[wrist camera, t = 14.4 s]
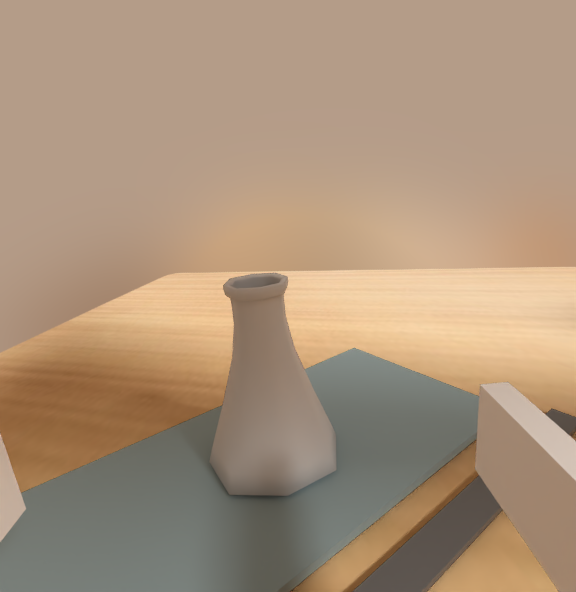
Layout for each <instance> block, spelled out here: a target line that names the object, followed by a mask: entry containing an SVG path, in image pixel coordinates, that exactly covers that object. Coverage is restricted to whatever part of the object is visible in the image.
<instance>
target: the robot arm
mask: <svg viewBox="0 0 576 592" xmlns="http://www.w3.org/2000/svg"><path fill="white" fill-rule="evenodd" d="M475 470H476V471H477V473H478V474H479V476H480V477H481V479H482V480H483V481H484V483H485V484H486V486H487V487H488V489H489V490H490V492H491V493H492V495H493V496H494V498H495V499H496V500H497V502H498V503H499V505H500V506H501V508H502V509H503V511H504V512H505V514H506V515H507V517H508V518H509V519H510V521H511V522H512V524H513V525H514V527H515V528H516V530H517V531H518V533H519V534H520V536H521V537H522V538H523V540H524V541H525V543H526V544H527V546H528V547H529V549H530V550H531V552H532V553H533V555H534V556H535V557H536V559H537V560H538V562H539V563H540V565H541V566H542V568H543V569H544V571H545V572H546V574H547V575H548V576H549V578H550V579H551V581H552V582H553V584H554V585H555V587H556V588H557V590H558V591H559V592H576V441H575V440H574V439H573V438H572V437H571V436H569V435H568V434H567V433H566V432H565V431H564V430H563V429H561V428H560V427H559V426H558V425H557V424H556V423H555V422H553V421H552V420H551V419H550V418H549V417H548V416H546V415H545V414H544V413H543V412H542V411H541V410H540V409H538V408H537V407H536V406H535V405H534V404H533V403H532V402H530V401H529V400H528V399H527V398H526V397H525V396H524V395H522V394H521V393H520V392H519V391H518V390H517V389H516V388H514V387H513V386H512V385H511V384H510V383H509V382H503V383H491V384H480V392H479V409H478V426H477V443H476V460H475ZM25 510H26V507H25V504H24V501H23V498H22V495H21V492H20V489H19V486H18V483H17V481H16V478H15V475H14V472H13V469H12V466H11V463H10V460H9V457H8V454H7V451H6V448H5V445H4V442H3V439H2V437H1V434H0V542H1V541H2V539H3V538H4V537H5V535H6V534H7V533H8V532H9V530H10V529H11V528H12V526H13V525H14V524H15V523H16V521H17V520H18V519H19V517H20V516H21V515H22V513H23V512H24V511H25Z"/></svg>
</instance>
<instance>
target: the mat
mask: <svg viewBox="0 0 576 592" xmlns="http://www.w3.org/2000/svg"><path fill="white" fill-rule="evenodd" d="M305 372H306V374H307V376H308V378H309V380H310V383H311V385H312V387H313V389H314V391H315V393H316V395H317V397H318V399H319V401H320V403H321V405H322V407H323V409H324V411H325V413H326V415H327V417H328V419H329V421H330V423H331V425H332V427H333V429H334V431H335V434H336V469H337V470H336V471H334V472H332V473H330V474H328V475H326V476H325V477H323V478H321V479H319V480H317V481H315V482H313V483H311V484H309V485H308V486H306V487H304V488H302V489H300V490H298V491H296V492H294V493H292V494H290V495H289V496H273V495H229V493H228V492H227V490H226V488H225V487H224V485H223V483H222V482H221V480H220V478H219V477H218V475H217V474H216V472H215V470H214V469H213V467H212V465H211V464H210V462H209V461H210V456H211V452H212V447H213V443H214V439H215V434H216V430H217V426H218V422H219V418H220V414H221V410H222V406H223V405H222V406H220V407H217V408H215V409H213V410H210V411H208V412H206V413H203V414H201V415H199V416H197V417H194V418H192V419H190V420H187V421H185V422H183V423H181V424H178V425H176V426H174V427H171V428H169V429H167V430H164V431H162V432H160V433H158V434H155V435H153V436H151V437H148V438H146V439H144V440H142V441H139V442H137V443H135V444H132V445H130V446H128V447H125V448H123V449H121V450H119V451H116V452H114V453H112V454H109V455H107V456H105V457H102V458H100V459H98V460H96V461H93V462H91V463H89V464H86V465H84V466H82V467H80V468H77V469H75V470H73V471H70V472H68V473H66V474H63V475H61V476H59V477H57V478H54V479H52V480H50V481H47V482H45V483H43V484H41V485H38V486H36V487H34V488H31V489H29V490H27V491H24V492H22V493H21V495H22V498H23V501H24V504H25V507H26V510H25V511H24V512H23V513H22V515H21V516H20V517H19V519H18V520H17V521H16V523H15V524H14V525H13V526H12V528H11V529H10V530H9V532H8V533H7V534H6V535H5V537H4V538H3V539H2V541H1V542H0V592H290V591H291V590H292V589H294V588H295V587H296V586H297V585H298V584H300V583H301V582H302V581H303V580H305V579H306V578H307V577H308V576H309V575H311V574H312V573H313V572H314V571H316V570H317V569H318V568H319V567H320V566H322V565H323V564H324V563H325V562H327V561H328V560H329V559H330V558H331V557H333V556H334V555H335V554H336V553H338V552H339V551H340V550H341V549H342V548H344V547H345V546H346V545H347V544H349V543H350V542H351V541H352V540H354V539H355V538H356V537H357V536H358V535H360V534H361V533H362V532H363V531H365V530H366V529H367V528H368V527H369V526H371V525H372V524H373V523H374V522H376V521H377V520H378V519H379V518H380V517H382V516H383V515H384V514H385V513H387V512H388V511H389V510H390V509H391V508H393V507H394V506H395V505H396V504H398V503H399V502H400V501H401V500H402V499H404V498H405V497H406V496H407V495H409V494H410V493H411V492H412V491H414V490H415V489H416V488H417V487H418V486H420V485H421V484H422V483H423V482H425V481H426V480H427V479H428V478H429V477H431V476H432V475H433V474H434V473H436V472H437V471H438V470H439V469H440V468H442V467H443V466H444V465H445V464H447V463H448V462H449V461H450V460H451V459H453V458H454V457H455V456H456V455H458V454H459V453H460V452H461V451H462V450H464V449H465V448H466V447H467V446H469V445H470V444H471V443H472V442H473V441H475V440H476V439H477V426H478V409H479V396H477V395H474V394H472V393H469V392H466V391H464V390H461V389H459V388H456V387H454V386H451V385H448V384H446V383H443V382H441V381H438V380H436V379H433V378H430V377H428V376H425V375H423V374H420V373H418V372H415V371H412V370H410V369H407V368H405V367H402V366H399V365H397V364H394V363H392V362H389V361H387V360H384V359H381V358H379V357H376V356H374V355H371V354H369V353H366V352H363V351H361V350H358V349H356V348H353V349H350V350H348V351H346V352H344V353H341V354H339V355H337V356H334V357H332V358H330V359H327V360H325V361H323V362H321V363H318V364H316V365H314V366H311V367H309V368H307V369H305Z"/></svg>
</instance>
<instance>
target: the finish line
mask: <svg viewBox="0 0 576 592" xmlns="http://www.w3.org/2000/svg"><path fill="white" fill-rule="evenodd" d="M545 415H546V416H548V417H549V418H550V419H551V420H552V421H553V422H555V423H556V424H557V425H558V426H559V427H560V428H561V429H563V430H564V431H565V432H566V433H567V434H568V435H569V436H572V434H573V433H574V432H575V431H576V417H574V416H571V415H568V414H566V413H563V412H560V411H557V410H554V409H551V410H550V411H549V412H547V413H546V414H545ZM502 510H503V509H502V508H501V506H500V505H499V503H498V502H497V500H496V499H495V498H494V496H493V495H492V493H491V492H490V490H489V489H488V487H487V486H486V484H485V483H484V481H483V480H482V479H481V477H480V476H478V477H477V478H476V479H475V480H473V481H472V482H471V483H470V484H469V485H468V486H467V487H466V488H465V489H464V490H463V491H461V492H460V493H459V494H458V495H457V496H456V497H455V498H454V499H453V500H452V501H451V502H449V503H448V504H447V505H446V506H445V507H444V508H443V509H442V510H441V511H440V512H439V513H438V514H436V515H435V516H434V517H433V518H432V519H431V520H430V521H429V522H428V523H427V524H426V525H424V526H423V527H422V528H421V529H420V530H419V531H418V532H417V533H416V534H415V535H414V536H412V537H411V538H410V539H409V540H408V541H407V542H406V543H405V544H404V545H403V546H402V547H401V548H399V549H398V550H397V551H396V552H395V553H394V554H393V555H392V556H391V557H390V558H389V559H387V560H386V561H385V562H384V563H383V564H382V565H381V566H380V567H379V568H378V569H377V570H375V571H374V572H373V573H372V574H371V575H370V576H369V577H368V578H367V579H366V580H365V581H363V582H362V583H361V584H360V585H359V586H358V587H357V588H356V589H355V590H354V591H353V592H427V591H428V590H429V589H430V587H431V586H432V585H433V584H434V583H435V582H436V581H437V580H438V579H439V578H440V577H441V576H442V575H443V573H444V572H445V571H446V570H447V569H448V568H449V567H450V566H451V565H452V564H453V563H454V562H455V561H456V559H457V558H458V557H459V556H460V555H461V554H462V553H463V552H464V551H465V550H466V549H467V548H468V547H469V545H470V544H471V543H472V542H473V541H474V540H475V539H476V538H477V537H478V536H479V535H480V534H481V533H482V531H483V530H484V529H485V528H486V527H487V526H488V525H489V524H490V523H491V522H492V521H493V520H494V519H495V517H496V516H497V515H498V514H499V513H500V512H501V511H502Z"/></svg>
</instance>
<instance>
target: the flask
mask: <svg viewBox="0 0 576 592" xmlns="http://www.w3.org/2000/svg"><path fill="white" fill-rule="evenodd" d="M287 285H288V277H287V276H284V275H281V274H277V273H262V274H250V275H245V276H240V277H236V278H231V279H229V280H228V281H227V282H226V283H225V284H224V285H223V290H224V292H225V295H226V296H227V297H229V298H230V300H231V303H232V311H233V320H234V334H233V354H232V362H231V367H230V371H229V376H228V381H227V386H226V391H225V396H224V401H223V406H222V410H221V414H220V418H219V422H218V426H217V430H216V434H215V439H214V443H213V447H212V452H211V456H210V461H209V462H210V464H211V465H212V467H213V469H214V470H215V472H216V474H217V475H218V477H219V478H220V480H221V482H222V483H223V485H224V487H225V488H226V490H227V492H228V493H229V495H273V496H289V495H290V494H292V493H294V492H296V491H298V490H300V489H302V488H304V487H306V486H308V485H309V484H311V483H313V482H315V481H317V480H319V479H321V478H323V477H325V476H326V475H328V474H330V473H332V472H334V471H336V470H337V469H336V434H335V431H334V429H333V427H332V425H331V423H330V421H329V419H328V417H327V415H326V413H325V411H324V409H323V407H322V405H321V403H320V401H319V399H318V397H317V395H316V393H315V391H314V389H313V387H312V385H311V383H310V380H309V378H308V376H307V374H306V372H305V369H304V367H303V365H302V363H301V361H300V358H299V356H298V354H297V352H296V350H295V347H294V344H293V340H292V337H291V333H290V330H289V326H288V322H287V319H286V314H285V305H284V293H285V290H286V288H287Z"/></svg>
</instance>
